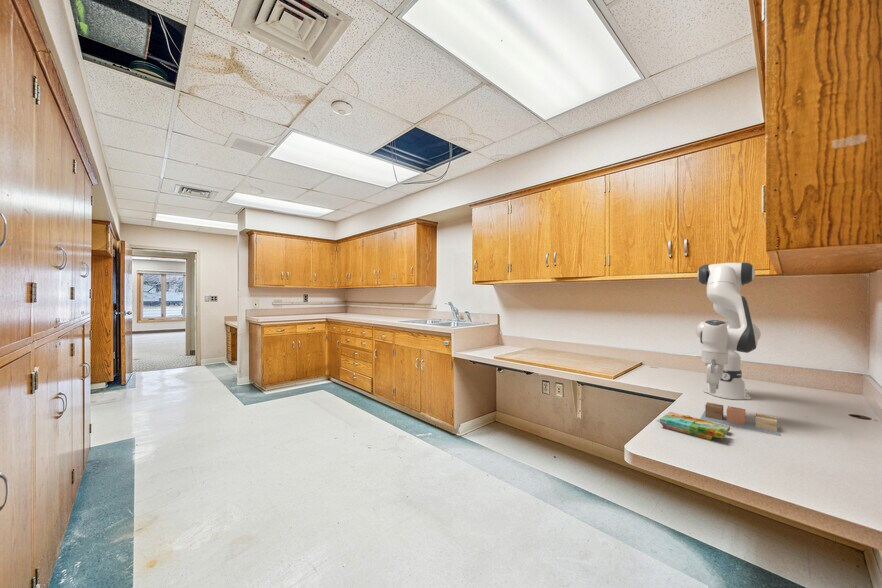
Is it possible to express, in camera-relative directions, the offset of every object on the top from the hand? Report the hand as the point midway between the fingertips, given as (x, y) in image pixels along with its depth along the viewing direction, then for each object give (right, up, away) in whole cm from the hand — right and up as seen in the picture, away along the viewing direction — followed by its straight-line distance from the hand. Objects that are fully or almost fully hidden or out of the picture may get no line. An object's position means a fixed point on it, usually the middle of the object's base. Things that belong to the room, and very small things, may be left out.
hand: (714, 391), depth 144 cm
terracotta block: (+5, -11, -5) cm, 13 cm away
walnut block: (0, -11, 0) cm, 11 cm away
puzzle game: (-18, -13, -12) cm, 25 cm away
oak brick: (+12, -11, -11) cm, 19 cm away
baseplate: (+5, -12, -6) cm, 15 cm away
